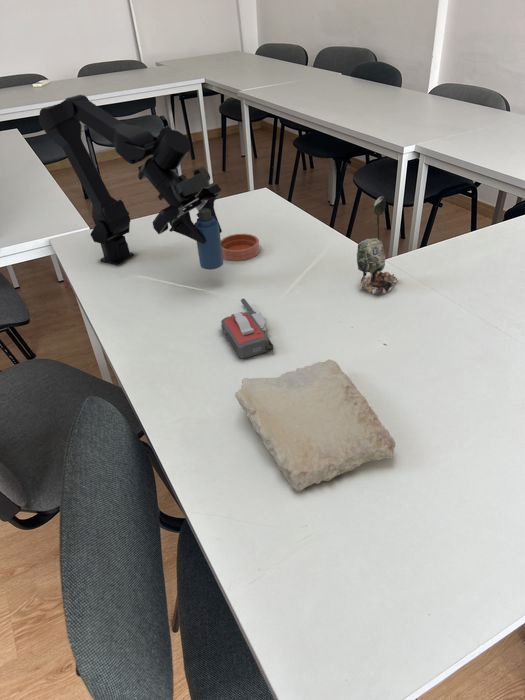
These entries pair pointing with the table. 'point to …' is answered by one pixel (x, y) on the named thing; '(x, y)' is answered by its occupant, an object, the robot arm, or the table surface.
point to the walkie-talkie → (247, 332)
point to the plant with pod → (374, 259)
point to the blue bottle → (209, 241)
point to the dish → (240, 247)
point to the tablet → (314, 423)
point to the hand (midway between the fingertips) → (212, 237)
